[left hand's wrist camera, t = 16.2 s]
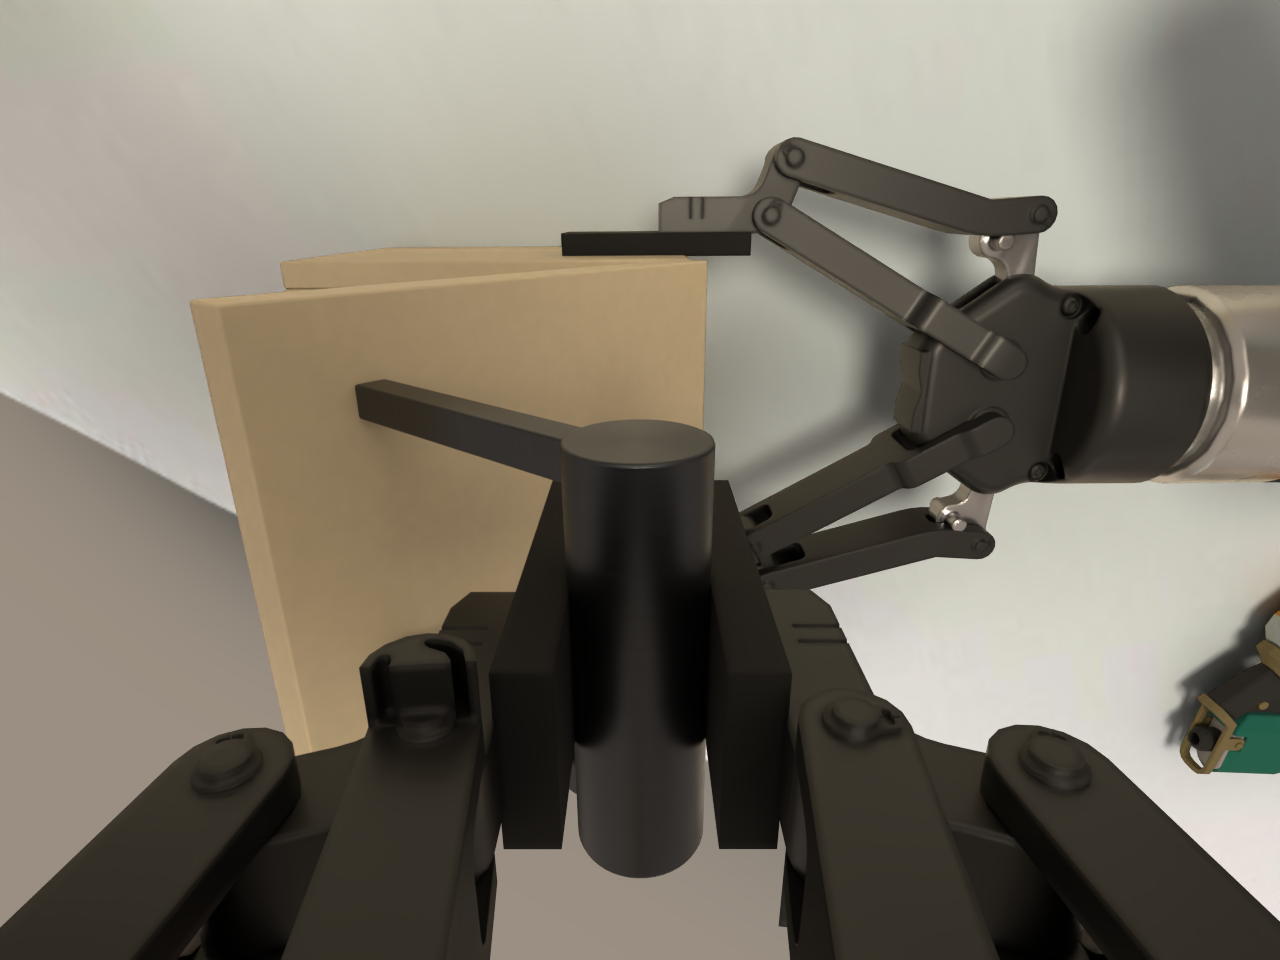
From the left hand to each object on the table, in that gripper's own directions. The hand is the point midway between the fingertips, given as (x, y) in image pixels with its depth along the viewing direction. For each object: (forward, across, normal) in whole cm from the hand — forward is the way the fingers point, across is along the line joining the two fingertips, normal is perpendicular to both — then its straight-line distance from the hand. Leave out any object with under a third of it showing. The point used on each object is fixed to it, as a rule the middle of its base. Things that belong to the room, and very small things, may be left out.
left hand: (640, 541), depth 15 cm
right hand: (+14, -3, 0) cm, 14 cm away
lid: (+4, -3, 0) cm, 6 cm away
